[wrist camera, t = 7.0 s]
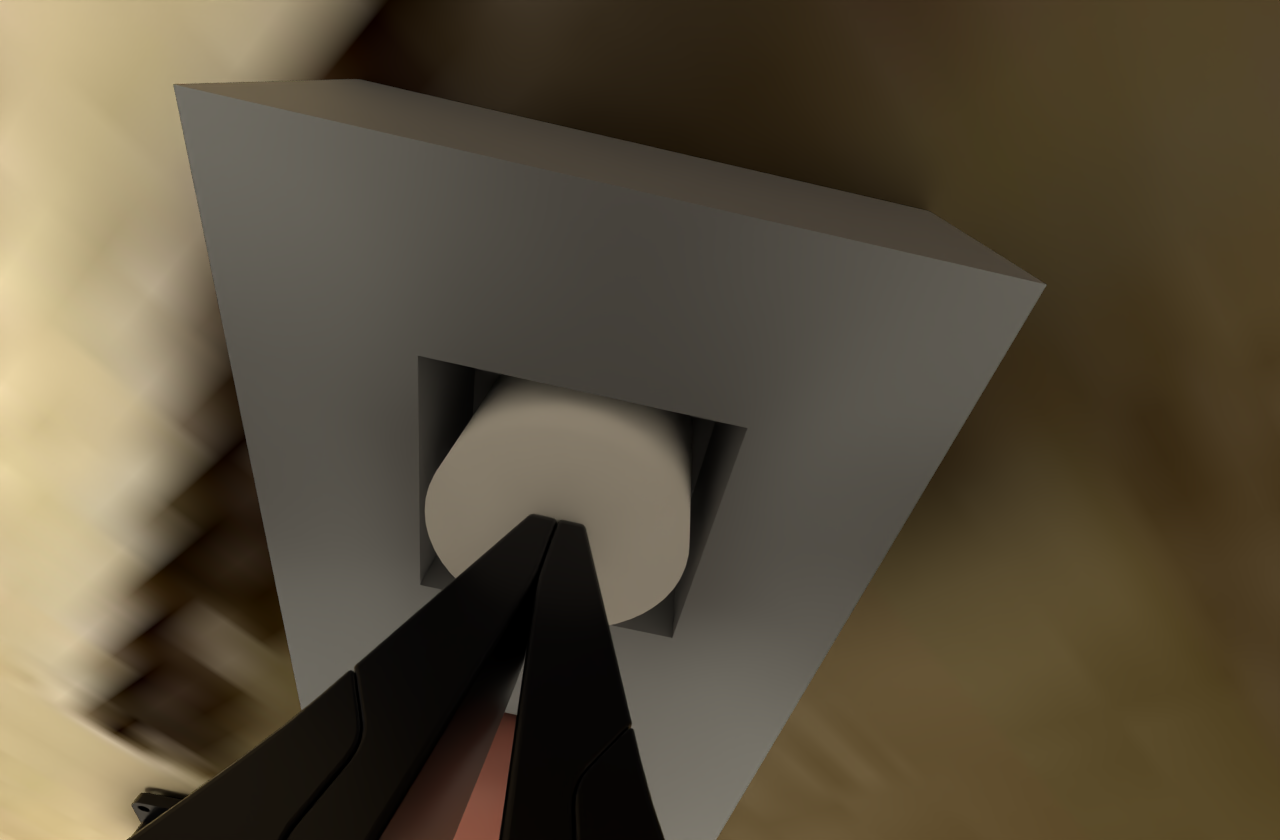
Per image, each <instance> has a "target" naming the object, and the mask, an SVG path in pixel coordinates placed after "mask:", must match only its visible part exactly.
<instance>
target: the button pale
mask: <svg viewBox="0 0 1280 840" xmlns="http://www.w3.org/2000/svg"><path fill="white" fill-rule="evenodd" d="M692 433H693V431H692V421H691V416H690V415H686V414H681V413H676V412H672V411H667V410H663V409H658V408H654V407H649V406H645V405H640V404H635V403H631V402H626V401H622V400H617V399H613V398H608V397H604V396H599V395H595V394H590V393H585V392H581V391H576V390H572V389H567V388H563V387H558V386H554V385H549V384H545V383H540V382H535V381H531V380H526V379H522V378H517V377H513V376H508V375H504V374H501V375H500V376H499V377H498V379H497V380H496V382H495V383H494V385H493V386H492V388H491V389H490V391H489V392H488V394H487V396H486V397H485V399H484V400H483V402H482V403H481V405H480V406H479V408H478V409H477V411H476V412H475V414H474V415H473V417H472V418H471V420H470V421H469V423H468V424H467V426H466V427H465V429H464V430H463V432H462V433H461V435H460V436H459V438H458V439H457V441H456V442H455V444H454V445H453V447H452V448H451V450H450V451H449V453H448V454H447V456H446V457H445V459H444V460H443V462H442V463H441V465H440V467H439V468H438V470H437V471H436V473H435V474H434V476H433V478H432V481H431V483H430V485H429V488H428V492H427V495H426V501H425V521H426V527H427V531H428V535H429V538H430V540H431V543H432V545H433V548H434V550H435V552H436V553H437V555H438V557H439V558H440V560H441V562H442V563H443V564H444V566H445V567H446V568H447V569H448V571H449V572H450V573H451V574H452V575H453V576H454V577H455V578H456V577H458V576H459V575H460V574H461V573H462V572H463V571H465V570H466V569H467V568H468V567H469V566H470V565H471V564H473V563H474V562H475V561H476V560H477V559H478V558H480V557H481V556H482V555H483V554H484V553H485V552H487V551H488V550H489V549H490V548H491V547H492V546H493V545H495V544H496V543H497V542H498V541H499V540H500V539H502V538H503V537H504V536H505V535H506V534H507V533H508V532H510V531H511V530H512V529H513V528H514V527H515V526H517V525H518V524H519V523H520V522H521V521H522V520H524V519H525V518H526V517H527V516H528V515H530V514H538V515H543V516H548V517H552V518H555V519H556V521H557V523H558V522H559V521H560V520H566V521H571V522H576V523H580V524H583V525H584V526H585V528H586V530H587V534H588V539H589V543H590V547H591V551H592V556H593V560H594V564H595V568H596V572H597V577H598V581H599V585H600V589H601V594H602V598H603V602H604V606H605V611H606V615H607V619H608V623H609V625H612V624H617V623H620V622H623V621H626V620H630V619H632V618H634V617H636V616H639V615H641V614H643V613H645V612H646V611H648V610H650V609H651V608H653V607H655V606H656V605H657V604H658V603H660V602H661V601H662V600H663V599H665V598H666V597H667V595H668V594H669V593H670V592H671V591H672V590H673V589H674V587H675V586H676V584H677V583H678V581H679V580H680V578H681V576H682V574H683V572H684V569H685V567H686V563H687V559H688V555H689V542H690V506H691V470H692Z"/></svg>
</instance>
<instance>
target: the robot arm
mask: <svg viewBox="0 0 1280 840" xmlns="http://www.w3.org/2000/svg"><path fill="white" fill-rule="evenodd" d="M524 660H525V661H524ZM523 663H524V668H523V675H522V682H521V688H520V695H519V702H518V709H517V716H516V723H515V730H514V737H513V744H512V751H511V758H510V765H509V772H508V779H507V786H506V793H505V800H504V807H503V814H502V820H501V827H500V834H499V840H665V838H664V835H663V832H662V829H661V826H660V823H659V820H658V817H657V814H656V811H655V808H654V805H653V802H652V798H651V794H650V791H649V787H648V783H647V779H646V776H645V772H644V768H643V765H642V761H641V757H640V753H639V749H638V745H637V740H636V736H635V732H634V729H633V728H631V726H632V720H631V716H630V712H629V708H628V704H627V699H626V695H625V691H624V687H623V682H622V678H621V674H620V670H619V666H618V661H617V657H616V653H615V649H614V644H613V640H612V636H611V632H610V627H609V623H608V619H607V615H606V611H605V606H604V602H603V598H602V594H601V589H600V585H599V581H598V577H597V572H596V568H595V564H594V560H593V556H592V551H591V547H590V543H589V539H588V534H587V530H586V528H585V526H584V525H583V524H580V523H576V522H571V521H566V520H560V521H559V522H558V523H557V521H556V519H555V518H552V517H548V516H543V515H538V514H530V515H528V516H527V517H526V518H525V519H524V520H522V521H521V522H520V523H519V524H518V525H517V526H515V527H514V528H513V529H512V530H511V531H510V532H508V533H507V534H506V535H505V536H504V537H503V538H502V539H500V540H499V541H498V542H497V543H496V544H495V545H493V546H492V547H491V548H490V549H489V550H488V551H487V552H485V553H484V554H483V555H482V556H481V557H480V558H478V559H477V560H476V561H475V562H474V563H473V564H471V565H470V566H469V567H468V568H467V569H466V570H465V571H463V572H462V573H461V574H460V575H459V576H458V577H456V578H455V579H454V580H453V581H452V582H451V583H450V584H448V585H447V586H446V587H445V588H444V589H443V590H441V591H440V592H439V593H438V594H437V595H436V596H435V597H433V598H432V599H431V600H430V601H429V602H428V603H426V604H425V605H424V606H423V607H422V608H421V609H419V610H418V611H417V612H416V613H415V614H414V615H413V616H411V617H410V618H409V619H408V620H407V621H406V622H404V623H403V624H402V625H401V626H400V627H399V628H398V629H396V630H395V631H394V632H393V633H392V634H391V635H389V636H388V637H387V638H386V639H385V640H384V641H383V642H381V643H380V644H379V645H378V646H377V647H376V648H374V649H373V650H372V651H371V652H370V653H369V654H367V655H366V656H365V657H364V658H363V659H362V660H361V661H359V662H358V663H357V664H356V665H355V666H354V671H352V670H349V671H347V672H346V673H345V674H344V675H343V676H342V677H340V678H339V679H338V680H337V681H336V682H335V683H334V684H332V685H331V686H330V687H329V688H328V689H327V690H326V691H324V692H323V693H322V694H321V695H320V696H318V697H317V698H316V699H315V700H314V701H312V702H311V703H310V704H309V705H308V706H306V707H305V708H304V709H303V710H301V711H300V712H299V713H298V714H297V715H295V716H294V717H293V718H292V719H290V720H289V721H288V722H287V723H286V724H284V725H283V726H282V727H281V728H279V729H278V730H277V731H275V732H274V733H273V734H271V735H270V736H269V737H267V738H266V739H265V740H263V741H262V742H261V743H259V744H258V745H257V746H255V747H254V748H253V749H251V750H250V751H249V752H247V753H246V754H245V755H243V756H242V757H241V758H239V759H238V760H237V761H235V762H234V763H232V764H231V765H230V766H228V767H227V768H226V769H224V770H223V771H221V772H220V773H219V774H217V775H216V776H215V777H213V778H212V779H210V780H209V781H208V782H206V783H205V784H203V785H202V786H201V787H199V788H198V789H196V790H195V791H194V792H192V793H191V794H189V795H188V796H187V797H185V798H184V799H183V800H181V799H176V798H171V797H166V796H161V795H156V794H151V793H141V794H139V796H138V797H137V798H136V800H135V801H134V802H133V803H132V807H133V809H134V811H135V813H136V814H137V816H138V818H139V820H140V821H141V824H140V826H139V827H138V828H137V830H136V831H135V832H134V834H133V835H132V836H131V837H130V838H128V839H127V840H453V839H454V836H455V834H456V832H457V829H458V827H459V824H460V822H461V819H462V817H463V814H464V812H465V809H466V807H467V804H468V802H469V799H470V797H471V794H472V792H473V789H474V787H475V784H476V782H477V779H478V777H479V774H480V772H481V769H482V767H483V764H484V762H485V759H486V757H487V754H488V752H489V750H490V747H491V745H492V742H493V740H494V737H495V735H496V732H497V730H498V727H499V725H500V722H501V720H502V717H503V715H504V712H505V710H506V707H507V705H508V702H509V700H510V697H511V695H512V692H513V690H514V687H515V685H516V682H517V680H518V677H519V674H520V672H521V669H522V666H523Z"/></svg>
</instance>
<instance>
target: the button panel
mask: <svg viewBox="0 0 1280 840" xmlns="http://www.w3.org/2000/svg"><path fill="white" fill-rule="evenodd" d="M173 85H174V90H175V95H176V100H177V105H178V109H179V114H180V119H181V124H182V129H183V134H184V139H185V144H186V149H187V153H188V158H189V163H190V168H191V173H192V178H193V183H194V188H195V193H196V197H197V202H198V207H199V212H200V217H201V222H202V227H203V232H204V236H205V241H206V246H207V251H208V256H209V261H210V266H211V271H212V276H213V280H214V285H215V290H216V295H217V300H218V305H219V310H220V315H221V319H222V324H223V329H224V334H225V339H226V344H227V349H228V354H229V359H230V363H231V368H232V373H233V378H234V383H235V388H236V393H237V398H238V402H239V407H240V412H241V417H242V422H243V427H244V432H245V437H246V442H247V446H248V451H249V456H250V461H251V466H252V471H253V476H254V481H255V485H256V490H257V495H258V500H259V505H260V510H261V515H262V520H263V525H264V529H265V534H266V539H267V544H268V549H269V554H270V559H271V564H272V568H273V573H274V578H275V583H276V588H277V593H278V598H279V603H280V608H281V612H282V617H283V622H284V627H285V632H286V637H287V642H288V647H289V652H290V656H291V661H292V666H293V671H294V676H295V681H296V686H297V691H298V695H299V700H300V705H301V710H303V709H304V708H305V707H306V706H308V705H309V704H310V703H311V702H312V701H314V700H315V699H316V698H317V697H318V696H320V695H321V694H322V693H323V692H324V691H326V690H327V689H328V688H329V687H330V686H331V685H332V684H334V683H335V682H336V681H337V680H338V679H339V678H340V677H342V676H343V675H344V674H345V673H346V672H347V671H349V670H352V671H354V666H355V665H356V664H357V663H358V662H359V661H361V660H362V659H363V658H364V657H365V656H366V655H367V654H369V653H370V652H371V651H372V650H373V649H374V648H376V647H377V646H378V645H379V644H380V643H381V642H383V641H384V640H385V639H386V638H387V637H388V636H389V635H391V634H392V633H393V632H394V631H395V630H396V629H398V628H399V627H400V626H401V625H402V624H403V623H404V622H406V621H407V620H408V619H409V618H410V617H411V616H413V615H414V614H415V613H416V612H417V611H418V610H419V609H421V608H422V607H423V606H424V605H425V604H426V603H428V602H429V601H430V600H431V599H432V598H433V597H435V596H436V595H437V594H438V593H439V592H440V591H441V590H443V589H444V588H445V587H446V586H447V585H448V584H450V583H451V582H452V581H453V580H454V579H455V577H454V576H453V575H452V574H451V573H450V572H449V571H448V569H447V568H446V567H445V566H444V564H443V563H442V562H441V560H440V558H439V557H438V555H437V553H436V552H435V550H434V548H433V545H432V543H431V540H430V538H429V535H428V531H427V527H426V521H425V501H426V495H427V492H428V488H429V485H430V483H431V481H432V478H433V476H434V474H435V473H436V471H437V470H438V468H439V467H440V465H441V463H442V462H443V460H444V459H445V457H446V456H447V454H448V453H449V451H450V450H451V448H452V447H453V445H454V444H455V442H456V441H457V439H458V438H459V436H460V435H461V433H462V432H463V430H464V429H465V427H466V426H467V424H468V423H469V421H470V420H471V418H472V417H473V415H474V414H475V412H476V411H477V409H478V408H479V406H480V405H481V403H482V402H483V400H484V399H485V397H486V396H487V394H488V392H489V391H490V389H491V388H492V386H493V385H494V383H495V382H496V380H497V379H498V377H499V376H500V375H501V374H504V375H508V376H513V377H517V378H522V379H526V380H531V381H535V382H540V383H545V384H549V385H554V386H558V387H563V388H567V389H572V390H576V391H581V392H585V393H590V394H595V395H599V396H604V397H608V398H613V399H617V400H622V401H626V402H631V403H635V404H640V405H645V406H649V407H654V408H658V409H663V410H667V411H672V412H676V413H681V414H686V415H690V416H691V421H692V431H693V433H692V470H691V506H690V542H689V555H688V559H687V563H686V567H685V569H684V572H683V574H682V576H681V578H680V580H679V581H678V583H677V584H676V586H675V587H674V589H673V590H672V591H671V592H670V593H669V594H668V595H667V597H666V598H665V599H663V600H662V601H661V602H660V603H658V604H657V605H656V606H655V607H653V608H651V609H650V610H648V611H646V612H645V613H643V614H641V615H639V616H636V617H634V618H632V619H630V620H626V621H623V622H620V623H617V624H612V625H609V627H610V632H611V636H612V640H613V644H614V649H615V653H616V657H617V661H618V666H619V670H620V674H621V678H622V682H623V687H624V691H625V695H626V699H627V704H628V708H629V712H630V716H631V720H632V726H631V728H633V729H634V732H635V736H636V740H637V745H638V749H639V753H640V757H641V761H642V765H643V768H644V772H645V776H646V779H647V783H648V787H649V791H650V794H651V798H652V802H653V805H654V808H655V811H656V814H657V817H658V820H659V823H660V826H661V829H662V832H663V835H664V838H665V840H716V839H717V837H718V836H719V834H720V832H721V831H722V829H723V827H724V825H725V824H726V822H727V820H728V819H729V817H730V815H731V814H732V812H733V810H734V809H735V807H736V805H737V804H738V802H739V800H740V799H741V797H742V795H743V794H744V792H745V790H746V789H747V787H748V785H749V784H750V782H751V780H752V778H753V777H754V775H755V773H756V772H757V770H758V768H759V767H760V765H761V763H762V762H763V760H764V758H765V757H766V755H767V753H768V752H769V750H770V748H771V747H772V745H773V743H774V742H775V740H776V738H777V737H778V735H779V733H780V731H781V730H782V728H783V726H784V725H785V723H786V721H787V720H788V718H789V716H790V715H791V713H792V711H793V710H794V708H795V706H796V705H797V703H798V701H799V700H800V698H801V696H802V695H803V693H804V691H805V690H806V688H807V686H808V684H809V683H810V681H811V679H812V678H813V676H814V674H815V673H816V671H817V669H818V668H819V666H820V664H821V663H822V661H823V659H824V658H825V656H826V654H827V653H828V651H829V649H830V648H831V646H832V644H833V643H834V641H835V639H836V638H837V636H838V634H839V632H840V631H841V629H842V627H843V626H844V624H845V622H846V621H847V619H848V617H849V616H850V614H851V612H852V611H853V609H854V607H855V606H856V604H857V602H858V601H859V599H860V597H861V596H862V594H863V592H864V591H865V589H866V587H867V585H868V584H869V582H870V580H871V579H872V577H873V575H874V574H875V572H876V570H877V569H878V567H879V565H880V564H881V562H882V560H883V559H884V557H885V555H886V554H887V552H888V550H889V549H890V547H891V545H892V544H893V542H894V540H895V538H896V537H897V535H898V533H899V532H900V530H901V528H902V527H903V525H904V523H905V522H906V520H907V518H908V517H909V515H910V513H911V512H912V510H913V508H914V507H915V505H916V503H917V502H918V500H919V498H920V497H921V495H922V493H923V491H924V490H925V488H926V486H927V485H928V483H929V481H930V480H931V478H932V476H933V475H934V473H935V471H936V470H937V468H938V466H939V465H940V463H941V461H942V460H943V458H944V456H945V455H946V453H947V451H948V450H949V448H950V446H951V444H952V443H953V441H954V439H955V438H956V436H957V434H958V433H959V431H960V429H961V428H962V426H963V424H964V423H965V421H966V419H967V418H968V416H969V414H970V413H971V411H972V409H973V408H974V406H975V404H976V403H977V401H978V399H979V397H980V396H981V394H982V392H983V391H984V389H985V387H986V386H987V384H988V382H989V381H990V379H991V377H992V376H993V374H994V372H995V371H996V369H997V367H998V366H999V364H1000V362H1001V361H1002V359H1003V357H1004V356H1005V354H1006V352H1007V351H1008V349H1009V347H1010V345H1011V344H1012V342H1013V340H1014V339H1015V337H1016V335H1017V334H1018V332H1019V330H1020V329H1021V327H1022V325H1023V324H1024V322H1025V320H1026V319H1027V317H1028V315H1029V314H1030V312H1031V310H1032V309H1033V307H1034V305H1035V304H1036V302H1037V300H1038V298H1039V297H1040V295H1041V293H1042V292H1043V290H1044V288H1045V287H1046V285H1047V284H1045V283H1044V282H1042V281H1040V280H1039V279H1037V278H1036V277H1034V276H1032V275H1031V274H1029V273H1028V272H1026V271H1024V270H1023V269H1021V268H1020V267H1018V266H1016V265H1015V264H1013V263H1012V262H1010V261H1008V260H1007V259H1005V258H1004V257H1002V256H1000V255H999V254H997V253H996V252H994V251H992V250H991V249H989V248H988V247H986V246H984V245H983V244H981V243H980V242H978V241H976V240H975V239H973V238H972V237H970V236H968V235H967V234H965V233H964V232H962V231H960V230H959V229H957V228H956V227H954V226H952V225H951V224H949V223H948V222H946V221H944V220H943V219H941V218H940V217H938V216H936V215H935V214H933V213H932V212H930V211H927V210H923V209H918V208H914V207H910V206H905V205H901V204H897V203H892V202H888V201H884V200H879V199H875V198H871V197H866V196H862V195H858V194H854V193H849V192H845V191H841V190H836V189H832V188H828V187H823V186H819V185H815V184H810V183H806V182H802V181H797V180H793V179H789V178H784V177H780V176H776V175H771V174H767V173H763V172H758V171H754V170H750V169H745V168H741V167H737V166H732V165H728V164H724V163H720V162H715V161H711V160H707V159H702V158H698V157H694V156H689V155H685V154H681V153H676V152H672V151H668V150H663V149H659V148H655V147H650V146H646V145H642V144H637V143H633V142H629V141H624V140H620V139H616V138H611V137H607V136H603V135H598V134H594V133H590V132H585V131H581V130H577V129H573V128H568V127H564V126H560V125H555V124H551V123H547V122H542V121H538V120H534V119H529V118H525V117H521V116H516V115H512V114H508V113H503V112H499V111H495V110H490V109H486V108H482V107H477V106H473V105H469V104H464V103H460V102H456V101H451V100H447V99H443V98H439V97H434V96H430V95H426V94H421V93H417V92H413V91H408V90H404V89H400V88H395V87H391V86H387V85H382V84H378V83H374V82H369V81H365V80H361V79H341V80H306V81H271V82H236V83H201V84H173ZM524 661H525V660H524ZM523 668H524V663H523V666H522V669H521V672H520V674H519V677H518V680H517V682H516V685H515V687H514V690H513V692H512V695H511V697H510V700H509V702H508V705H507V707H506V710H505V712H506V713H510V714H515V715H517V709H518V702H519V695H520V688H521V682H522V675H523Z"/></svg>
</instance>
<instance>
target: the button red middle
mask: <svg viewBox="0 0 1280 840" xmlns="http://www.w3.org/2000/svg"><path fill="white" fill-rule="evenodd" d="M516 716H517V715H515V714H510V713H506V712H504V715H503V717H502V720H501V722H500V725H499V727H498V730H497V732H496V735H495V737H494V740H493V742H492V745H491V747H490V750H489V752H488V754H487V757H486V759H485V762H484V764H483V767H482V769H481V772H480V774H479V777H478V779H477V782H476V784H475V787H474V789H473V792H472V794H471V797H470V799H469V802H468V804H467V807H466V809H465V812H464V814H463V817H462V819H461V822H460V824H459V827H458V829H457V832H456V834H455V836H454V839H453V840H499V834H500V827H501V820H502V814H503V807H504V800H505V793H506V786H507V779H508V772H509V765H510V758H511V751H512V744H513V737H514V730H515V723H516Z"/></svg>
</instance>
